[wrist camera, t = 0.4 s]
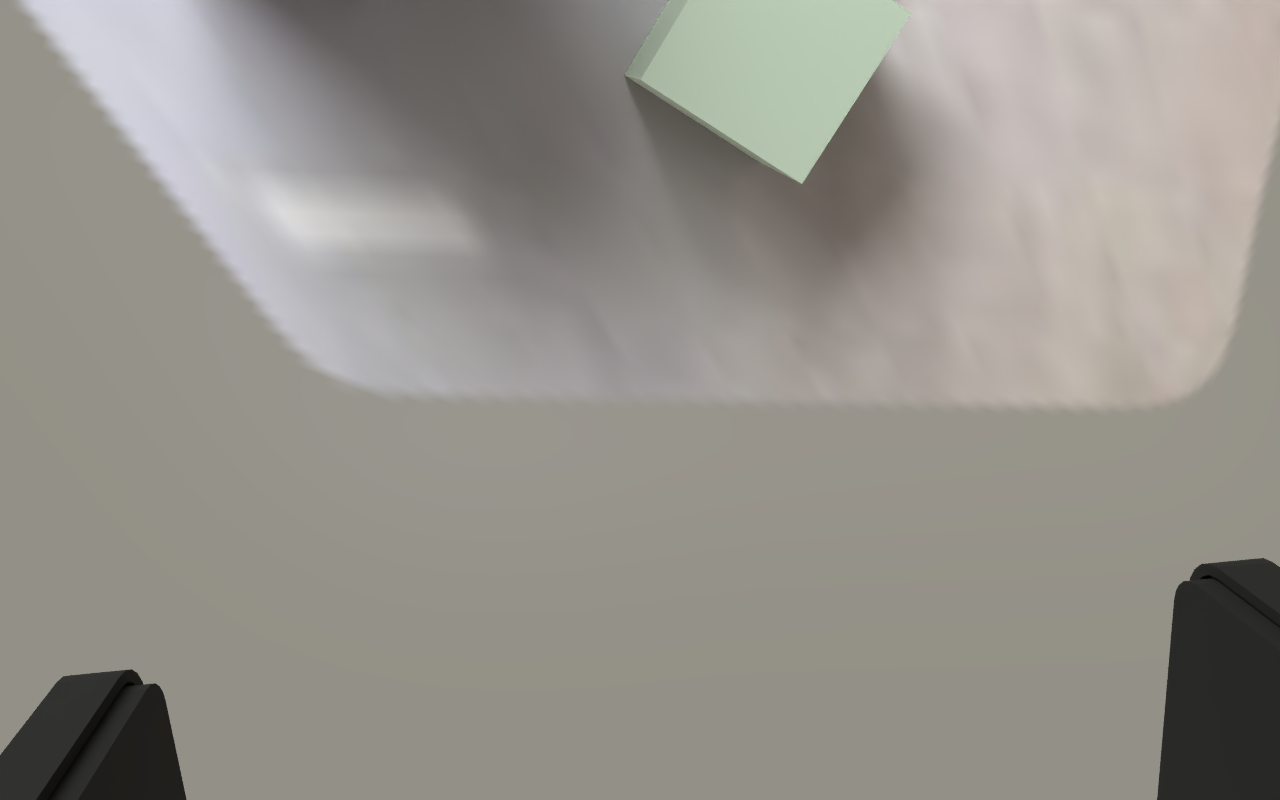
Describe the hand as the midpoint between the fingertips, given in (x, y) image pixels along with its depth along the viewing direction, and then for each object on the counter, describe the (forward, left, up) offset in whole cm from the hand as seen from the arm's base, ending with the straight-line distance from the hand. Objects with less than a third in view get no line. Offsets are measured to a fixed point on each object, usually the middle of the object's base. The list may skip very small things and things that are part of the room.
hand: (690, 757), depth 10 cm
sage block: (-8, +1, -27) cm, 28 cm away
